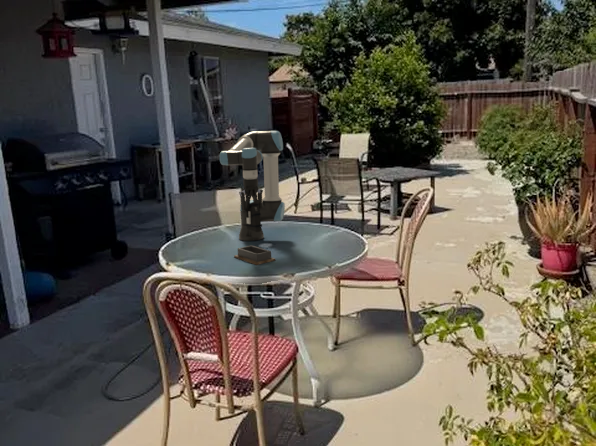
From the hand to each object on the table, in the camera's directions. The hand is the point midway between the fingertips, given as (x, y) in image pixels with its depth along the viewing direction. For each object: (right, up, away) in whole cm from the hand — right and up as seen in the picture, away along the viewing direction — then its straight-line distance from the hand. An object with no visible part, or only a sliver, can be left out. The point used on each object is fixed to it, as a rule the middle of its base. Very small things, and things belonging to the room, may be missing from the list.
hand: (252, 222), depth 290 cm
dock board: (+1, -19, +4) cm, 20 cm away
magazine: (0, -4, +1) cm, 4 cm away
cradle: (+1, -18, +4) cm, 19 cm away
